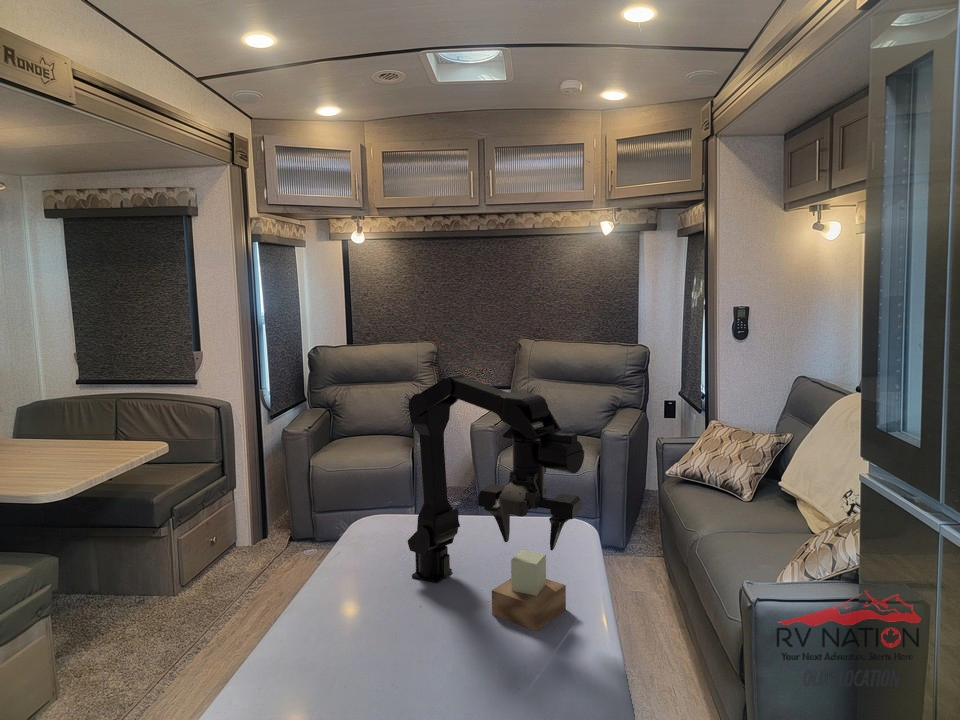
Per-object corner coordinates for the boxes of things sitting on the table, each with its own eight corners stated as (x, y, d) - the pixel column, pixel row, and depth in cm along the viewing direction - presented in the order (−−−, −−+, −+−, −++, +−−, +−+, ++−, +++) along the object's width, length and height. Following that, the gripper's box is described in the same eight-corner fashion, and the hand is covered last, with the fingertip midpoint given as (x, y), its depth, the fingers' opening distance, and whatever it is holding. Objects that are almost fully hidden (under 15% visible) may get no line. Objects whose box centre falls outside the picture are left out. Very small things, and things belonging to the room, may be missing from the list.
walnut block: (492, 615, 123) (491, 590, 123) (522, 595, 131) (522, 571, 131) (536, 632, 117) (536, 605, 117) (565, 610, 125) (565, 585, 124)
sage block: (511, 590, 123) (511, 559, 122) (521, 579, 127) (521, 549, 126) (536, 595, 120) (536, 564, 120) (545, 584, 125) (545, 554, 124)
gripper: (462, 469, 118) (464, 553, 120) (561, 482, 110) (561, 571, 111) (490, 454, 128) (491, 532, 130) (582, 465, 119) (582, 547, 121)
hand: (529, 545), depth 123 cm, fingers open, 9 cm apart
